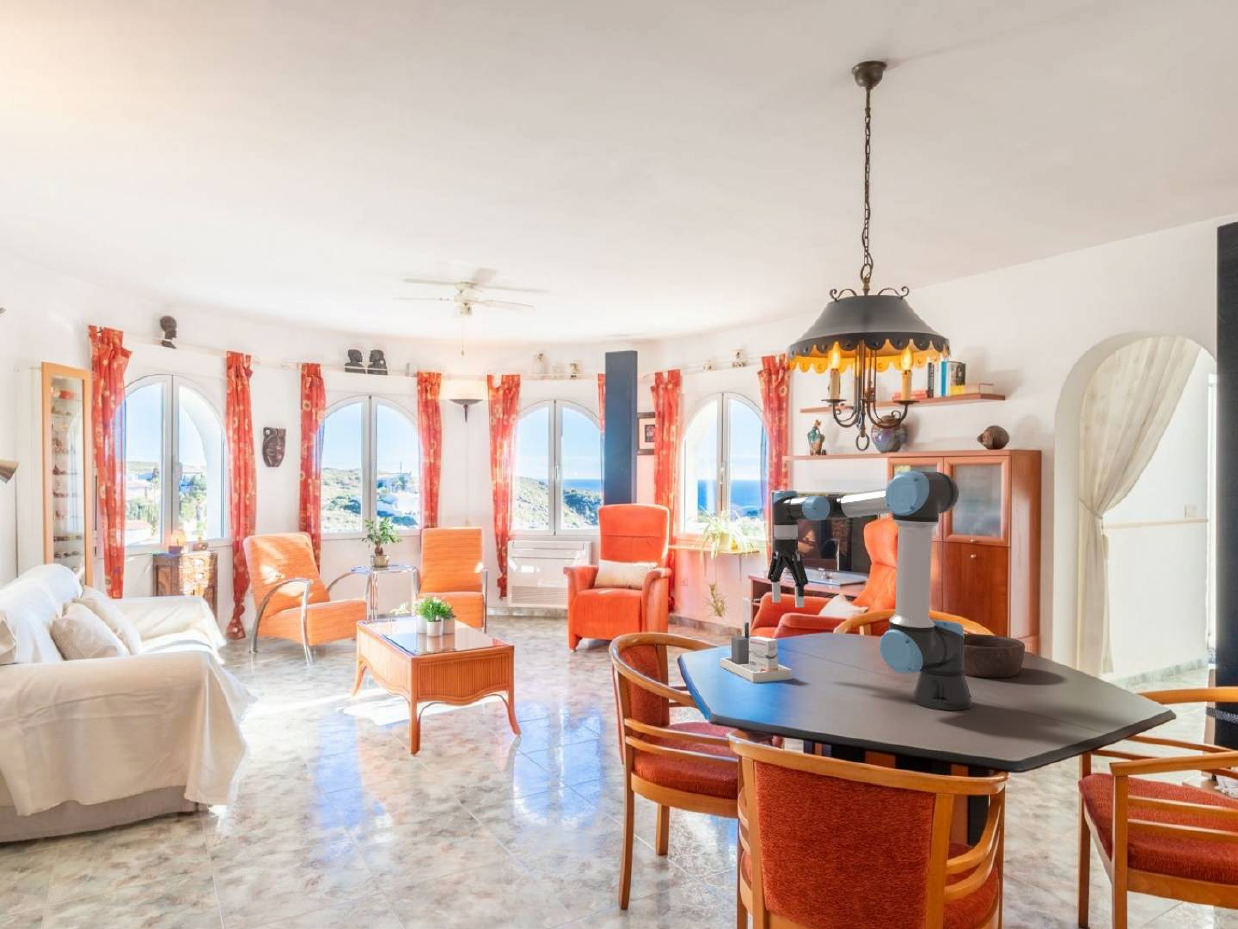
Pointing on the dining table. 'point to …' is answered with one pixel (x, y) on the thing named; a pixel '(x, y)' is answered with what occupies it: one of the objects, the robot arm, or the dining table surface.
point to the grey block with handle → (741, 647)
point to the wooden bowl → (992, 656)
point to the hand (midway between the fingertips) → (787, 604)
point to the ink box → (762, 654)
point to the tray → (754, 677)
